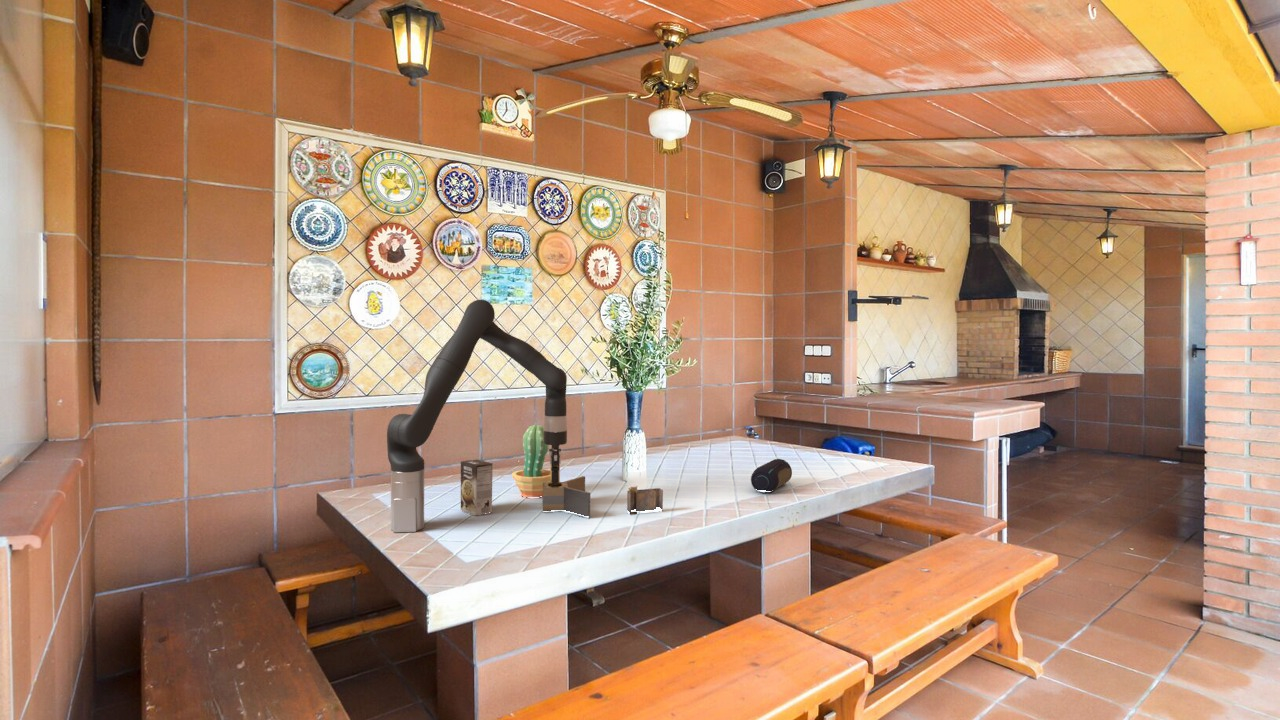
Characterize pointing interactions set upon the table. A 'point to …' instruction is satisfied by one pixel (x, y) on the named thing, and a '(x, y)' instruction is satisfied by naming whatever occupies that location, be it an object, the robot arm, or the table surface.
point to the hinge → (567, 496)
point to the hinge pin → (551, 477)
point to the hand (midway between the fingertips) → (554, 481)
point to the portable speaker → (771, 475)
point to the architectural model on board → (644, 499)
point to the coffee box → (476, 487)
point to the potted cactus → (533, 463)
